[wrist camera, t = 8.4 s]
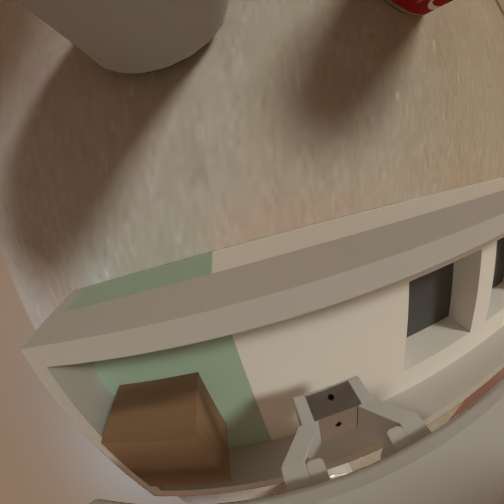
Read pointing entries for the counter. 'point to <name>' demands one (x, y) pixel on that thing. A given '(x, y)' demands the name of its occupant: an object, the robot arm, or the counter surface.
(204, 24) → the can
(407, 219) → the tray
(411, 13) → the soda can
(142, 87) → the counter surface
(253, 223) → the counter surface
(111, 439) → the walnut block
